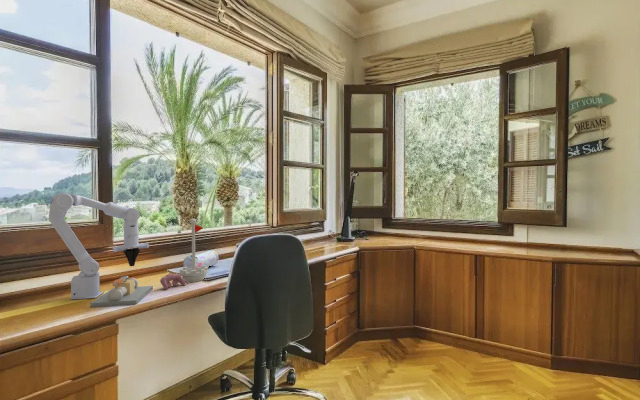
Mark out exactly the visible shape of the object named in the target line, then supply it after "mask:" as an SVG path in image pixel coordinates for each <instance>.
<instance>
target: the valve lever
mask: <svg viewBox="0 0 640 400" xmlns="http://www.w3.org/2000/svg"><path fill="white" fill-rule="evenodd" d="M126 279H127V280H128V279H129V276H128V275H122V276H120V278H117V279H115V280H114V281H112V287H115V286H120V285H121V284H122V283H123V281H125V280H126Z"/></svg>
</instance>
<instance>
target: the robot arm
mask: <svg viewBox="0 0 640 400" xmlns="http://www.w3.org/2000/svg"><path fill="white" fill-rule="evenodd" d="M72 206H73V207H79V206H85V207H89V208H93V209H96V210H100V211H102V212H103V213H104V215H106V216H110V217H113V218H116V219H120V220H121V219H123V245H119V246H118V245H117V246H113V247H112V252H122V253H124V256H125V257H126V259H127V261H128V265H129V267H135V265H136V260H137V257H138V256H139V254H140V249H149V247H150V244H149V242H148V243H147V242H146V243H139V240H140V239H139V219H140V216H141V215H140V213H139V211H138V210H137V209H136V208H131V207H129V205H122V204H120V203H119V204H118V202H117V201H113V202H112V201H109V202H107V203H104V202H101V201H98V200H95V199H92V198H89V197H87V196H83V195H79V194H70V193H67V192H59V193H56V194H54V196H53V197H52V199H51V201H50V202H49V211H48V221H49V223H50V224H51V226H53V229H54V230H55V231H56V232H57V234H58V235H59V237H60V238H61V240H62V241H63V242H64V244H65V245H66V247H67V248H68V250H69V252H71V254H72V255H73V257H74V258H75V260H76V261H77V263H78V269H79V271H80V272H79V273H78V275H74V276H73V277H72V278H71V281H70V299H69V300H84V299H85V300H86V299H97V298H99V297H100V296H102V295H103V294H105V293H104V291H100V272H99V270H100V264H99V262H98V261H96V260H95V259H94V258H92V256H91V255H90V254H89V253H88V251H87V250H86V248H85V247H84V246H83V244H82V242H81V241H80V240H79V238H78V237H77V235H76V234H75V232H74V231H73V230H72V228H71V226H70V225H69V223H68V222H67V221H66V219H65V217H66V215H67V213H68V211H69V210H70V209H71V208H72Z"/></svg>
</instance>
